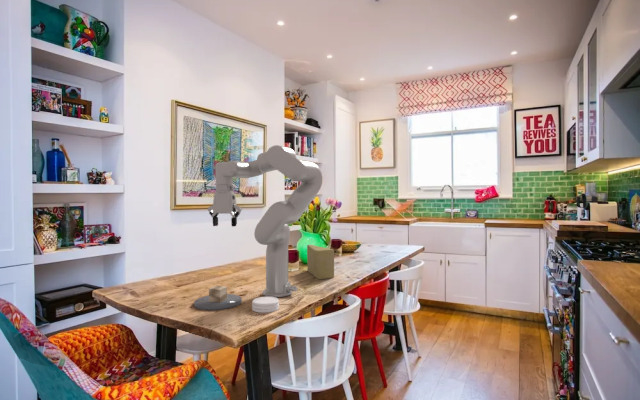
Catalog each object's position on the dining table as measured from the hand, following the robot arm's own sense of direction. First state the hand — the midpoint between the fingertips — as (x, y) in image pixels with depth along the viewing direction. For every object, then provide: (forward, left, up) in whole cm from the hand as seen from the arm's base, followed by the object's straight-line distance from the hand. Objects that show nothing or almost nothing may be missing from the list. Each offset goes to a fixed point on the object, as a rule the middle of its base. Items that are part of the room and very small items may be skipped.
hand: (224, 226), depth 167 cm
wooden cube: (-11, +23, -27) cm, 37 cm away
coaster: (-32, +24, -29) cm, 49 cm away
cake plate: (-11, +23, -28) cm, 38 cm away
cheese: (-33, -36, -29) cm, 57 cm away
